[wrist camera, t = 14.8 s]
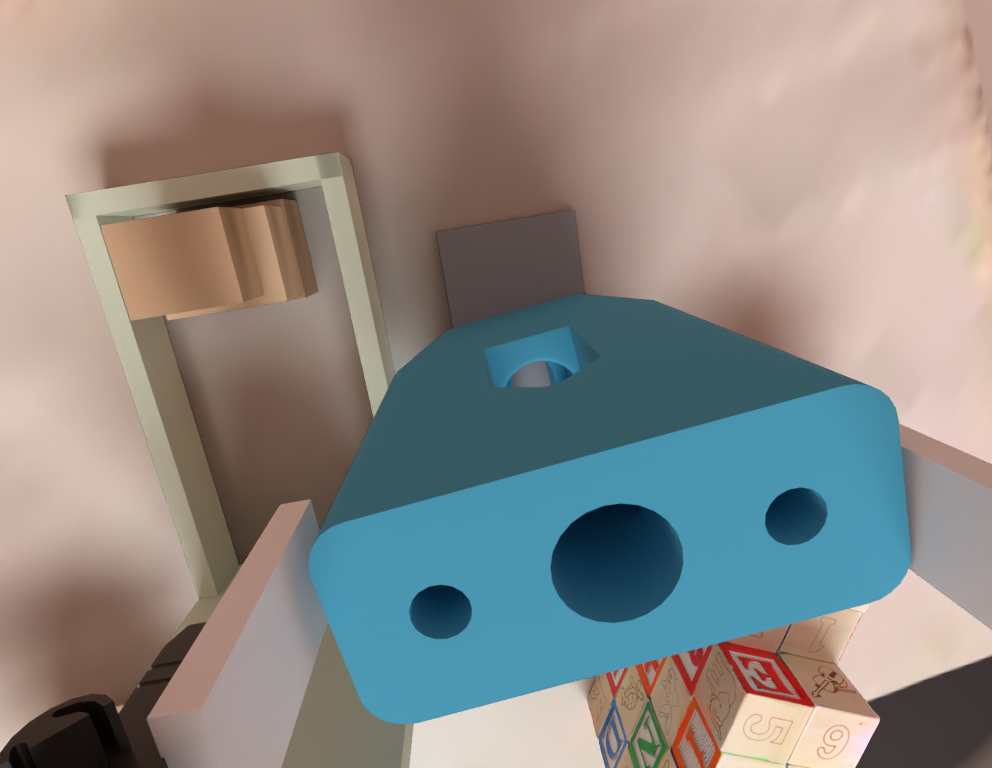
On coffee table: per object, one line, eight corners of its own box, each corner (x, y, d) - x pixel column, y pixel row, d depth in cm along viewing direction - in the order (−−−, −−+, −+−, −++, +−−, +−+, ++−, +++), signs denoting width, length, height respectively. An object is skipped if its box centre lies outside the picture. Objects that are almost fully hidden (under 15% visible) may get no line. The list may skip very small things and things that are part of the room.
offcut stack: (202, 310, 30) (119, 337, 23) (176, 220, 29) (80, 218, 22) (318, 291, 30) (272, 312, 23) (297, 201, 29) (242, 192, 22)
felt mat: (480, 483, 34) (481, 486, 33) (436, 231, 30) (435, 231, 30) (602, 463, 34) (604, 466, 33) (573, 209, 30) (574, 209, 30)
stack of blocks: (708, 392, 33) (844, 485, 21) (808, 421, 34) (994, 526, 22) (585, 701, 38) (640, 916, 26) (675, 720, 39) (768, 937, 27)
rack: (226, 582, 34) (32, 873, 19) (105, 198, 29) (-312, 166, 13) (430, 548, 34) (405, 809, 19) (350, 159, 29) (220, 82, 13)
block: (624, 279, 31) (894, 371, 11) (643, 370, 32) (914, 591, 13) (401, 342, 31) (293, 536, 12) (429, 429, 32) (374, 734, 13)
